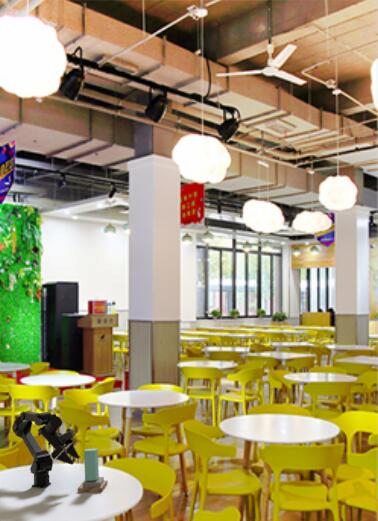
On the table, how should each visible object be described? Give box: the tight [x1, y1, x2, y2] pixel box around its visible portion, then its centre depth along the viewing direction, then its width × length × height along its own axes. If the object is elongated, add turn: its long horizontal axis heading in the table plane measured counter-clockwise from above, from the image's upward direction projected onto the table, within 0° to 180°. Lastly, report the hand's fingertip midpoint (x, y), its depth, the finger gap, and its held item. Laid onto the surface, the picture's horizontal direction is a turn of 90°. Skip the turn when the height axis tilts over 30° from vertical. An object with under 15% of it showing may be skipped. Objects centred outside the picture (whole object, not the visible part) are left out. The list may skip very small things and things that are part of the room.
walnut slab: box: [77, 480, 109, 493], centre depth 263 cm, size 11×11×2 cm
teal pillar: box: [83, 448, 100, 481], centre depth 264 cm, size 5×5×13 cm
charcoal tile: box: [82, 476, 105, 487], centre depth 263 cm, size 8×8×2 cm
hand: (75, 460), depth 265 cm, fingers open, 9 cm apart
